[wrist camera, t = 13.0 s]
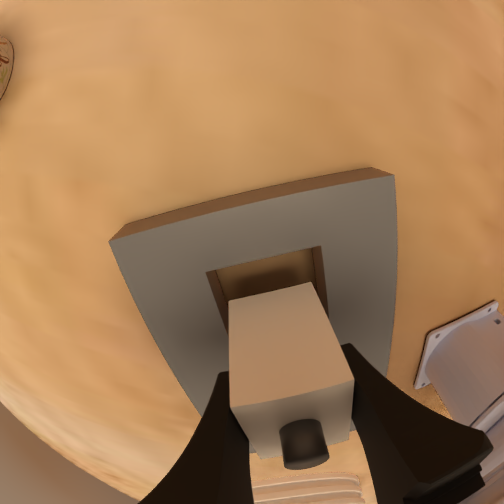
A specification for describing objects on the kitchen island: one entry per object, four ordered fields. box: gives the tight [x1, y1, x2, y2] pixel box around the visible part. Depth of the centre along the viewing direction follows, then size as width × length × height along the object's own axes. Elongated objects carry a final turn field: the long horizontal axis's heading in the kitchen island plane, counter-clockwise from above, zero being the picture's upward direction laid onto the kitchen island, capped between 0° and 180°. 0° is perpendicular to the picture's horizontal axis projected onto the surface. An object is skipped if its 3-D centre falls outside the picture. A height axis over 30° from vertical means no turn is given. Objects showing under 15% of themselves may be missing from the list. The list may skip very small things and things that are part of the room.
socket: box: [108, 167, 397, 453], centre depth 18 cm, size 14×22×2 cm, turn 13°
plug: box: [229, 282, 354, 470], centre depth 11 cm, size 4×5×8 cm
